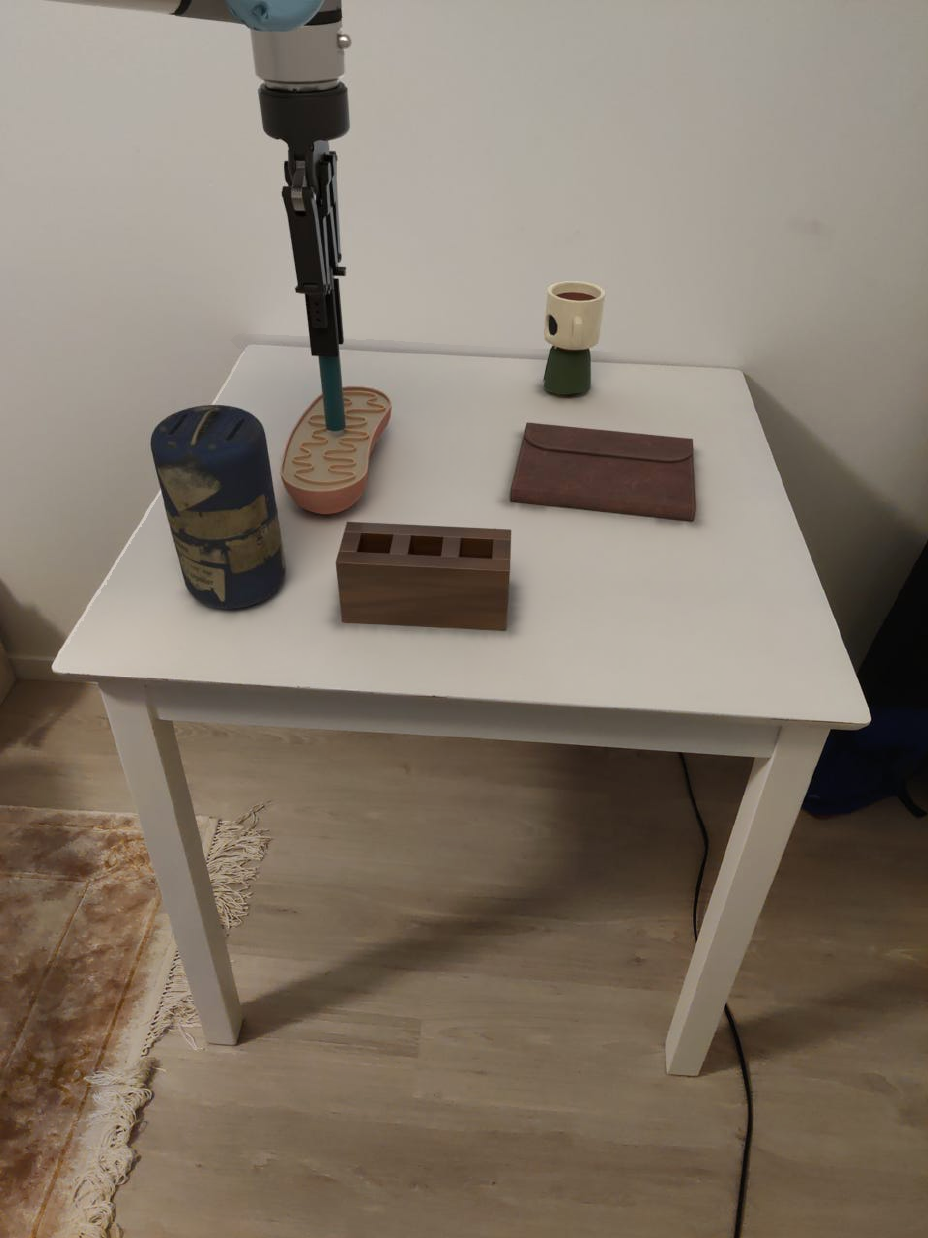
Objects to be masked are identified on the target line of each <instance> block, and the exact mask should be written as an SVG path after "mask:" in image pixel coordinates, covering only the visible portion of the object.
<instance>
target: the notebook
mask: <svg viewBox="0 0 928 1238" xmlns="http://www.w3.org/2000/svg"><path fill="white" fill-rule="evenodd" d="M694 450H695V449H694V439H693V438H687V437H679V436H678V437H677V436H668V435H656V434H646V433H639V432H638V433H636V432H627V431H617V430H606V429H598V428H597V429H596V428H586V427H577V426H566V425H559V424H558V425H557V424H547V423H537V422H526V423H525V427H524V431H523V438H522V441H521V445H520V449H519V453H518V458H517V460H516V461H517V462H516V466H515V469H514V474H513V478H512V482H511V486H510V491H509V493H510V494H509V501H510V502H518V503H526V504H535V505H543V506H553V507H560V508H570V509H571V508H572V509H578V510H588V511H595V512H596V511H598V512H606V513H613V514H623V515H633V516H634V515H635V516H641V517H650V518H661V519H669V520H678V521H688V522H694V521H695V518H696V512H697V504H696V503H697V502H696V483H695V482H696V481H695V463H694Z"/></svg>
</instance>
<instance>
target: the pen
mask: <svg viewBox="0 0 928 1238" xmlns="http://www.w3.org/2000/svg"><path fill="white" fill-rule="evenodd" d="M329 273H330V285H331V289H334V284H333V272H332V268H331V267H330V266H329ZM334 299H335V295H334ZM335 310H336V306H335ZM336 322H337V318H336ZM337 333H338V329H337ZM338 345H339V341H338ZM339 346H340V345H339ZM340 353H341V352H340V351H339V356H338V357H331V356H317V357H318V366H319V367H318V368H319V376H320V377H319V378H320V386H321V387H320V388H321V394H322V396H323V406H324V416H325V425H326V429H327V430H329V431H341V430H343V429H344V428H345V427H346V421H345V410H344V398H343V387H344V386H343V377H342V367H341V366H342V364H341V354H340Z"/></svg>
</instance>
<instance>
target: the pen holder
mask: <svg viewBox="0 0 928 1238" xmlns="http://www.w3.org/2000/svg"><path fill="white" fill-rule="evenodd" d="M511 557H512V529H510V528H509V529H507V528H488V527H487V528H486V527H467V526H466V527H465V526H448V525H447V526H446V525H425V524H423V525H422V524H404V523H383V522H382V523H381V522H366V521H365V522H363V521H346V523H345V527H344V530H343V535H342V539H341V541H340V545H339V549H338V553H337V555H336V559H335V570H336V579H337V581H336V582H337V588H338V589H337V590H338V600H339V608H340V618H341V622H342V623H351V624H352V623H353V624H373V625H388V626H389V625H390V626H391V625H392V626H410V627H428V628H446V629H447V628H448V629H469V630H486V631H504V632H505V631H507V624H508V610H509V609H508V608H509V597H510V596H509V595H510V579H511V560H512V559H511Z"/></svg>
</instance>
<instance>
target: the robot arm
mask: <svg viewBox="0 0 928 1238" xmlns="http://www.w3.org/2000/svg"><path fill="white" fill-rule="evenodd" d="M44 1H47V2H55V3H65V4H71V5H72V4H73V5H80V6H81V5H82V6H92V7H101V8H108V9H115V10H116V9H117V10H124V11H125V10H127V11H134V12H142V13H143V12H144V13H152V14H153V13H154V14H163V15H170V16H175V17H180V18H188V19H196V20H205V21H214V22H223V23H231V24H238V25H244V26H245V27H246V28H248V29H249V33H250V40H251V41H250V42H251V50H252V57H253V66H254V67H253V68H254V73H255V76H256V77H257V78H258V79H259V80H261V81H262V83H261V84H260V85H259V87H258V89H257V93H258V95H257V96H258V102H259V103H258V104H259V109H260V118H261V125H262V130H263V133H265V134H266V135H267V136H268V137H269V138H271V139H273V140H281V141H283V142H284V143H285V144H286V145H287V160H284V162H283V170H284V173H283V174H284V180H285V182H286V184H287V185H283V186H282V188H281V197H282V200H283V201H282V202H283V204H284V209H285V211H286V216H287V222H288V223H287V224H288V230H289V236H290V237H289V238H290V242H291V249H292V256H293V257H292V258H293V262H294V263H293V264H294V269H295V270H294V271H295V277H296V284H297V285H296V286H295V287H294V291H295V293H296V294H300V295H301V294H302V295H304V300H305V301H304V302H305V309H306V310H305V311H306V318H307V327H308V336H309V346H310V354H311V356H312V357H318V356H331V357H338V356H339V352H340V345H341V346H342V345H344V342H345V337H344V325H343V316H342V315H343V314H342V302H341V289H340V278H337V277H346V276H347V267H346V266H340V265H339V264H340V263H341V262H342V259H343V254H342V251H341V250H342V249H341V231H340V215H339V214H340V213H339V212H340V211H339V196H338V193H339V192H338V155H337V151H336V150H330V143H329V142H330V141H334V140H337V139H340V138H342V137H344V136H345V135H347V134H348V133H349V131H350V128H351V120H350V119H351V118H350V105H349V91H348V90H349V89H348V87H347V86H346V84H345V83H344V82H343V81H341V79H342V78H343V77H344V76H345V75H346V73H347V71H346V70H347V69H346V56H345V55H346V54H345V50H346V49H350V48H351V47H352V39H351V37H350V35H349V34H347V33H344V34H342V30H343V28H344V25H343V10H342V7H343V4H342V3H343V2H342V0H44ZM329 266H330V267H331V268H332V272H333V284H334V289H331V285H330V273H329ZM335 277H336V278H335ZM334 295H335V299H334ZM335 306H336V310H335ZM336 318H337V322H336ZM337 329H338V333H337ZM338 341H339V345H338Z"/></svg>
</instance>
